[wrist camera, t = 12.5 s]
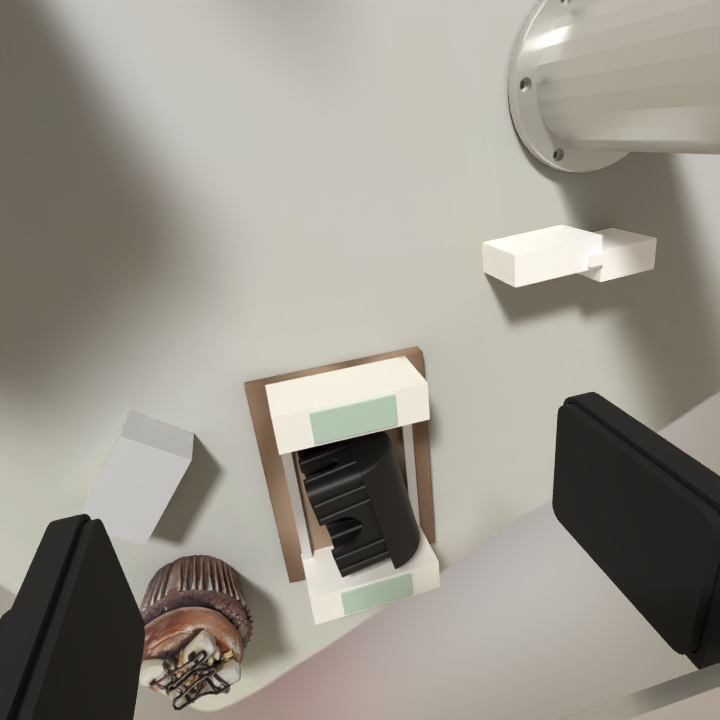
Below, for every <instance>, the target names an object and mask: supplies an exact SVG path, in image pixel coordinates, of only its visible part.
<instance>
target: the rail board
mask: <svg viewBox="0 0 720 720" xmlns="http://www.w3.org/2000/svg"><path fill="white" fill-rule="evenodd" d="M402 356H405V357H406V358H407V359H408V360H409V362H410V363H411V364H412V365H413V366H414V367H415V369H416V370H417V371H418V372H419V373H420V374H421V376H422V377H423V378H424V366H423V352H422V351H421V350H420V349H419V348H418V347H413V348H408V349H403V350H399V351H394V352H389V353H384V354H379V355H374V356H370V357H365V358H360V359H355V360H350V361H346V362H341V363H336V364H331V365H326V366H321V367H317V368H312V369H307V370H302V371H297V372H293V373H288V374H283V375H278V376H273V377H268V378H264V379H259V380H254V381H249V382H244V385H245V392H246V396H247V400H248V404H249V409H250V413H251V417H252V422H253V426H254V430H255V435H256V439H257V443H258V448H259V452H260V456H261V460H262V465H263V469H264V473H265V478H266V482H267V486H268V491H269V495H270V499H271V504H272V508H273V512H274V516H275V521H276V525H277V529H278V534H279V538H280V542H281V547H282V551H283V555H284V560H285V564H286V568H287V572H288V577H289V581H290V583H292V582H296V581H299V580H303V579H306V577H305V572H304V567H303V561H302V556H301V554H302V551H301V546H300V542H299V537H298V532H297V527H296V523H295V518H294V513H293V508H292V504H291V499H290V494H289V490H288V485H287V480H286V475H285V471H284V466H283V461H282V456H281V455H279V452H278V447H277V442H276V438H275V433H274V428H273V424H272V419H271V414H270V408H269V403H268V398H267V392H266V387H265V385H268V384H273V383H278V382H282V381H287V380H292V379H297V378H301V377H306V376H311V375H316V374H321V373H325V372H330V371H335V370H340V369H344V368H349V367H354V366H359V365H363V364H368V363H373V362H378V361H383V360H387V359H392V358H397V357H402ZM383 431H384V432H386V433H387V434H388V435H389V437H390V439H391V442H392V445H393V448H394V451H395V454H396V457H397V461H398V464H399V467H400V470H401V474H402V477H403V480H404V483H405V476H404V465H403V454H402V443H401V432H400V427H396V428H391V429H387V430H383ZM412 432H413V445H414V458H415V470H416V483H417V495H418V508H419V521H420V527H421V529H422V531H423V533H424V535H425V536H426V538H427V540H428V542H429V544H431V543H434V542H435V536H434V521H433V505H432V490H431V474H430V459H429V443H428V428H427V420H425V421H421V422H417V423H413V424H412ZM291 454H292V459H293V464H294V469H295V473H296V478H297V483H298V488H299V493H300V498H301V503H302V508H303V513H304V518H305V523H306V528H307V533H308V538H309V543H310V548H311V551H314V550H318V549H321V548H325V547H329V546H332V545H333V544H332V540H331V537H330V535H329V532H328V530H327V528H326V525H323V526H320V525H319V523H318V520H317V518H316V516H315V513H314V511H313V509H312V506H311V504H310V502H309V499H308V497H307V494H306V490H305V486H304V482H303V480H304V479H306V478H305V475H304V473H303V474H302V472H301V470H300V466H299V462H298V460H299V458H298V454H297V451H294V452H291Z"/></svg>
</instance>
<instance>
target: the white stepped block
mask: <svg viewBox="0 0 720 720" xmlns="http://www.w3.org/2000/svg"><path fill="white" fill-rule="evenodd" d="M656 243H657V238H655V237H650V236H646V235H642V234H637V233H633V232H628V231H624V230H620V229H615V228H609V229H604V230H600V231H595V232H588V231H584V230H581V229H577V228H573V227H569V226H565V225H559V226H554V227H550V228H545V229H541V230H536V231H532V232H527V233H523V234H518V235H514V236H509V237H505V238H500V239H496V240H491V241H487V242H482V248H483V267H484V272H485V273H487V274H489V275H491V276H493V277H495V278H497V279H499V280H501V281H503V282H505V283H507V284H509V285H511V286H513V287H515V288H516V287H520V286H524V285H529V284H533V283H537V282H541V281H545V280H549V279H554V278H558V277H562V276H566V275H570V274H574V273H577V274H580V275H583V276H585V277H588V278H591V279H593V280H596V281H599V282H603V281H607V280H611V279H615V278H619V277H623V276H627V275H632V274H636V273H640V272H644V271H648V270H652V269H654V264H655V253H656Z"/></svg>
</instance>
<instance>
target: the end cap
mask: <svg viewBox="0 0 720 720" xmlns="http://www.w3.org/2000/svg"><path fill="white" fill-rule="evenodd" d="M297 454H298V458H299V460H298V462H299V466H300V470H301V472H302V474H303V473H304V475H305V478H306V479H304V480H303V482H304V486H305V490H306V494H307V497H308V499H309V502H310V504H311V506H312V509H313V511H314V513H315V516H316V518H317V520H318V523H319V525H320V526H323V525H326V528H327V530H328V532H329V535H330V537H331V540H332V544H333V547H334V549H332V550H331V553H332V555H333V558H334V560H335V562H336V565H337V567H338V569H339V572H340V574H341V576H342V578H343V577H346V576H348V575H350V574H353V573H355V572H357V571H360V570H362V569H365V568H367V567H369V566H372V565H374V564H376V563H379V562H381V561H384V560H386V559H388V558H391V561H392V563H393V566H394V568H395V570H396V569H397V568H399V567H401V566H403V565H404V564H406V563H407V562H408V561H409V560H410V559H411V558H412V557H413V556H414V554H415V553H416V551H417V549H418V546H419V542H420V532H419V528H418V525H417V522H416V519H415V515H414V512H413V509H412V506H411V503H410V499H409V496H408V493H407V490H406V486H405V483H404V480H403V477H402V474H401V470H400V467H399V464H398V461H397V457H396V454H395V451H394V448H393V445H392V442H391V439H390V437H389V435H388V434H387V433H386V432H384V431H379V432H374V433H370V434H366V435H362V436H357V437H353V438H349V439H345V440H340V441H336V442H332V443H328V444H323V445H319V446H315V447H311V448H306V449H302V450H298V451H297Z"/></svg>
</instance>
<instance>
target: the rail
mask: <svg viewBox="0 0 720 720" xmlns="http://www.w3.org/2000/svg"><path fill="white" fill-rule="evenodd" d="M403 357H404V356H403ZM275 384H276V383H275ZM400 432H401V443H402V454H403V465H404V476H405V486H406V490H407V493H408V496H409V499H410V503H411V506H412V509H413V512H414V515H415V519H416V522H417V525H418V528H419V529H420V521H419V508H418V495H417V483H416V470H415V458H414V445H413V432H412V424H408V425H404V426H400ZM281 456H282V461H283V466H284V471H285V475H286V480H287V485H288V490H289V494H290V499H291V504H292V508H293V513H294V518H295V523H296V527H297V532H298V537H299V542H300V546H301V551H302V556H303V560H307V559H310V558H312V553H311V548H310V543H309V538H308V533H307V528H306V523H305V518H304V513H303V508H302V503H301V498H300V493H299V488H298V483H297V478H296V473H295V469H294V464H293V459H292V454H291V452H289V453H285V454H281Z"/></svg>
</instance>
